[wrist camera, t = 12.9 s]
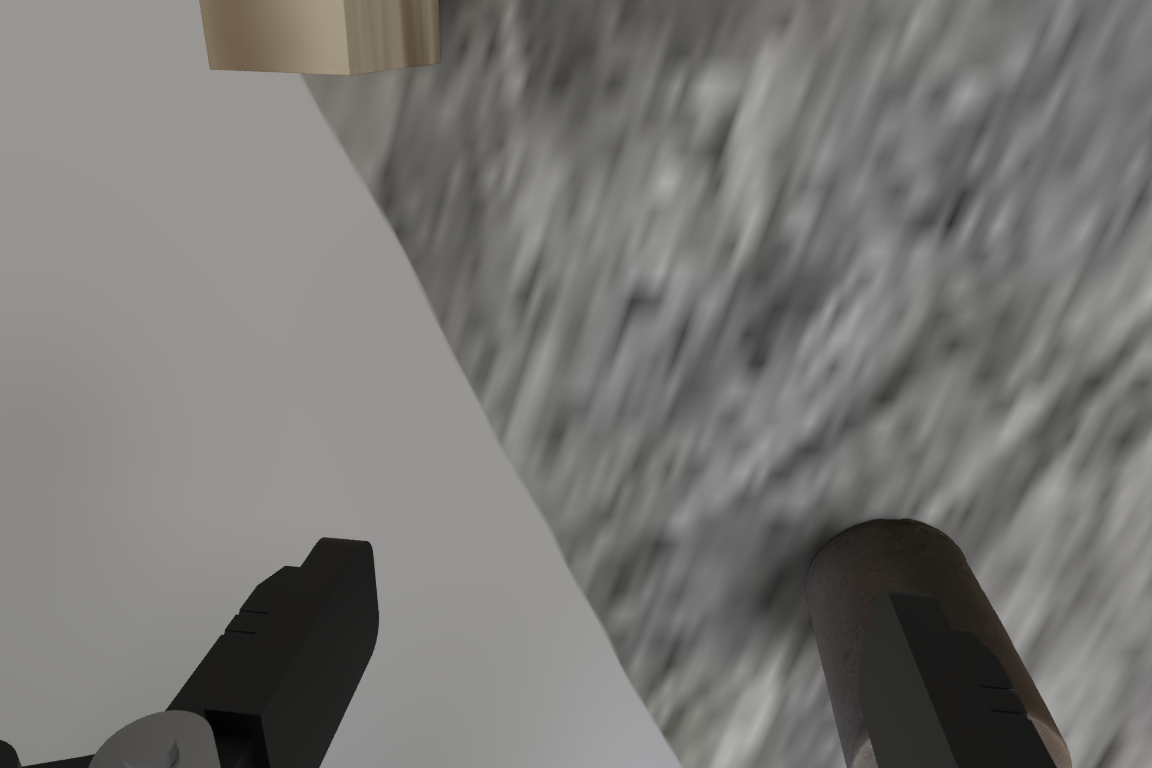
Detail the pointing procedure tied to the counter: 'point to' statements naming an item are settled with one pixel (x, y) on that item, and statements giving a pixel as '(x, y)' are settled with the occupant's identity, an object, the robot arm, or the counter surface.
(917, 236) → the counter surface
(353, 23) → the marking gauge
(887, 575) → the pillar candle
